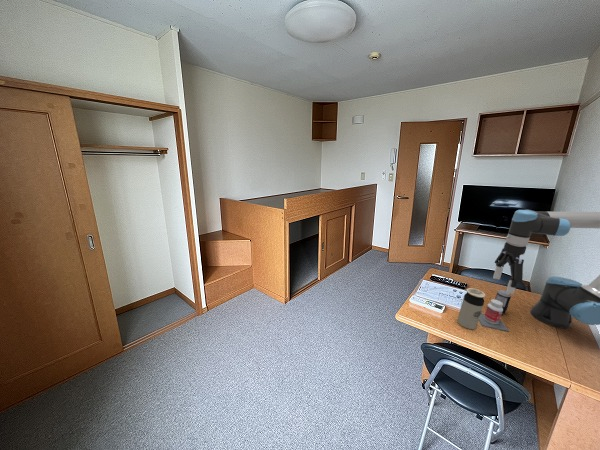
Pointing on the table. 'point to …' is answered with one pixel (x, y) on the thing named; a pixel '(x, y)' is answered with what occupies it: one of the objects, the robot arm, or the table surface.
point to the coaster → (495, 326)
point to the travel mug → (471, 308)
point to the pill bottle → (493, 312)
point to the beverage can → (503, 299)
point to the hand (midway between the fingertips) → (502, 285)
